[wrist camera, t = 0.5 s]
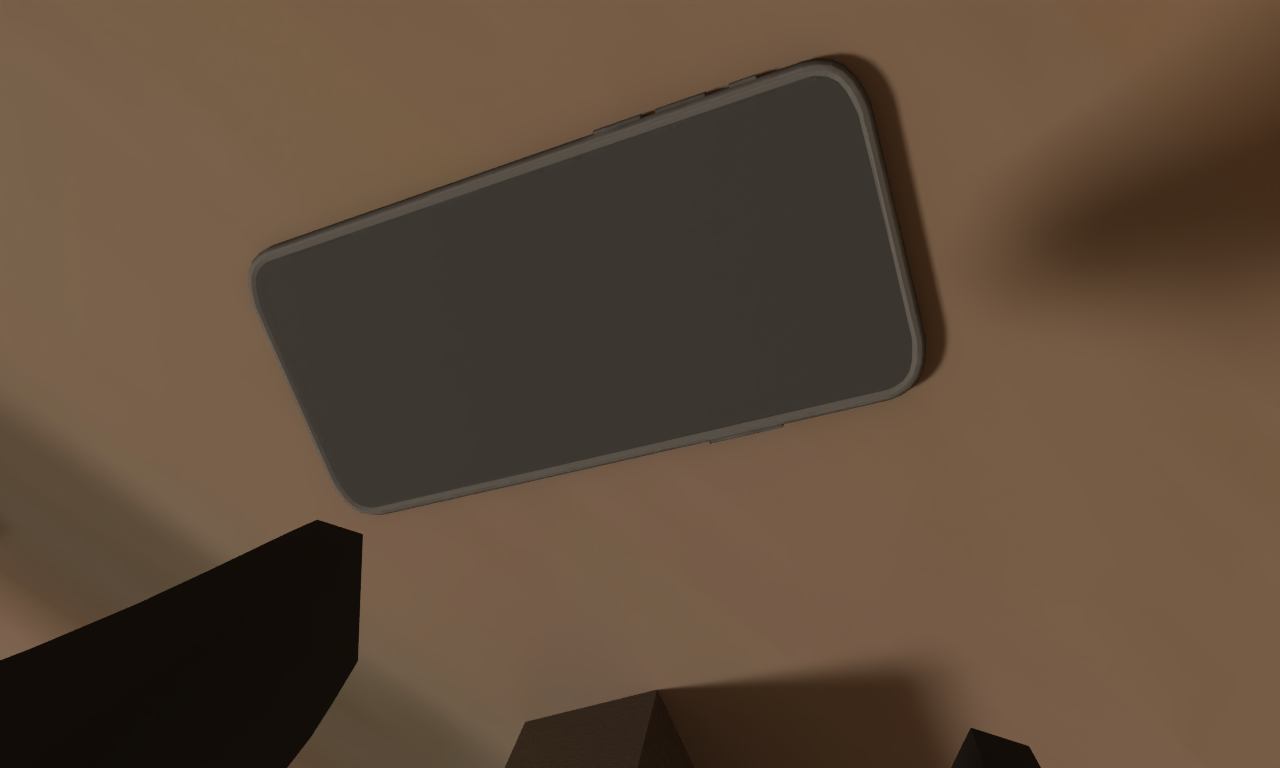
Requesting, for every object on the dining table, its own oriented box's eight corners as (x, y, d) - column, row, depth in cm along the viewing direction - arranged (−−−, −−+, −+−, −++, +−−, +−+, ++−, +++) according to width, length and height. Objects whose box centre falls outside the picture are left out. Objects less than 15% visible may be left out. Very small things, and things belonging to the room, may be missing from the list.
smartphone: (225, 257, 21) (855, 38, 16) (249, 250, 21) (854, 40, 17) (347, 529, 22) (942, 395, 18) (365, 512, 23) (936, 381, 19)
